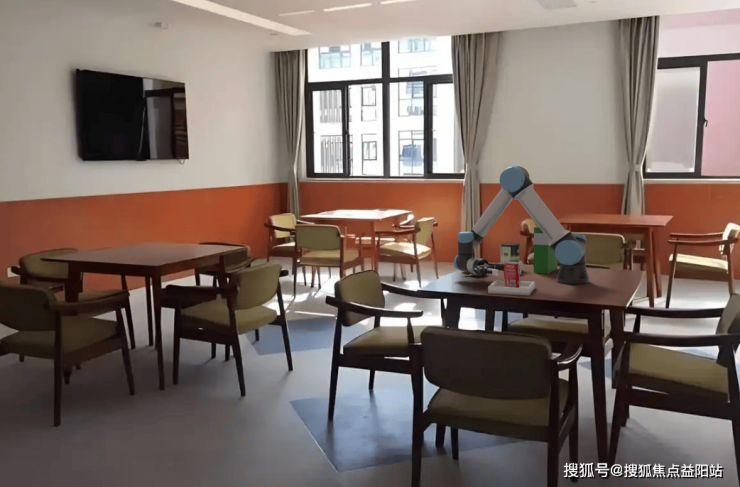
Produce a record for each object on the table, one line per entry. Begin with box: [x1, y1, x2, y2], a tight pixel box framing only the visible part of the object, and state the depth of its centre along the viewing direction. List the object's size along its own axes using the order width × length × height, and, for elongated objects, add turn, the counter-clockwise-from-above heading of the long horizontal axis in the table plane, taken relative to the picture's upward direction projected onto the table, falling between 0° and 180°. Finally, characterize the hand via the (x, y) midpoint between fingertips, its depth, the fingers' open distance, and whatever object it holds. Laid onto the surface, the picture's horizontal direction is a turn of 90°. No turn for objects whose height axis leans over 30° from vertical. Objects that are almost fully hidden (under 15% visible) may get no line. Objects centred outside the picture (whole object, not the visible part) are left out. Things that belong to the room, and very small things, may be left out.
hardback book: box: [533, 225, 558, 274], centre depth 351 cm, size 18×7×24 cm, turn 148°
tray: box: [487, 279, 536, 296], centre depth 299 cm, size 18×18×3 cm
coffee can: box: [499, 242, 521, 264], centre depth 358 cm, size 10×10×14 cm
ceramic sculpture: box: [461, 271, 482, 277], centre depth 341 cm, size 11×9×15 cm
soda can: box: [503, 261, 521, 288], centre depth 298 cm, size 7×7×12 cm
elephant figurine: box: [518, 260, 524, 276], centre depth 342 cm, size 8×10×7 cm
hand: (509, 271), depth 299 cm, fingers open, 13 cm apart
